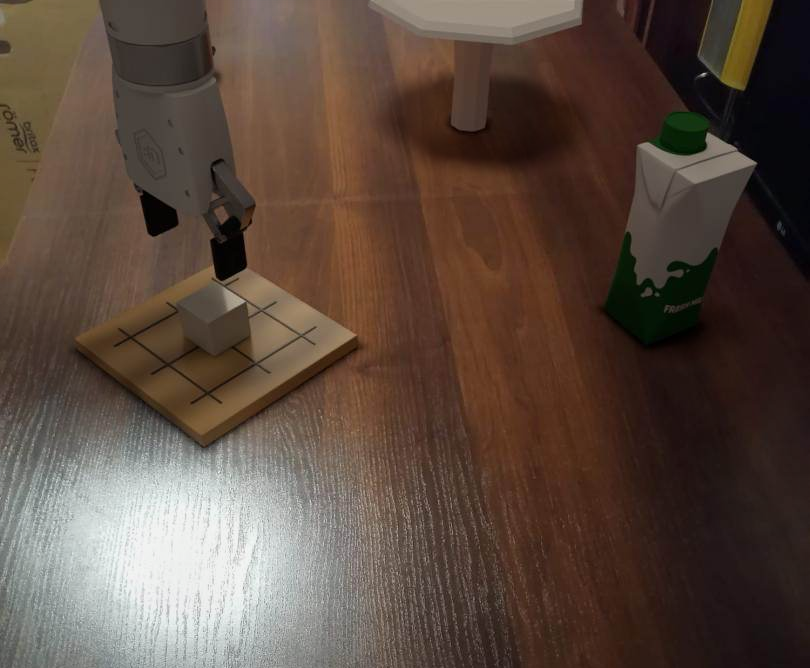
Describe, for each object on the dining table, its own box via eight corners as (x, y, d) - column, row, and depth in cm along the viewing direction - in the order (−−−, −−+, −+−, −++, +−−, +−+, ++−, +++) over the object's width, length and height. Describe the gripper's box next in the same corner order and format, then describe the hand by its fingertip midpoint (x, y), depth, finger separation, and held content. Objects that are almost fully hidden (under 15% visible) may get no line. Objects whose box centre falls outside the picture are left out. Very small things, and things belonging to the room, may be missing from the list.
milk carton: (652, 284, 96) (705, 99, 80) (709, 328, 91) (777, 141, 75) (590, 307, 93) (632, 120, 77) (646, 354, 88) (702, 165, 72)
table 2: (512, 197, 107) (530, 53, 94) (326, 136, 115) (319, -3, 102) (602, 110, 122) (629, -24, 109) (432, 61, 131) (437, -68, 118)
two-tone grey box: (183, 335, 86) (175, 302, 83) (220, 314, 88) (214, 280, 85) (214, 357, 84) (207, 323, 81) (251, 334, 86) (246, 301, 83)
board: (77, 350, 87) (72, 337, 86) (230, 267, 96) (228, 254, 95) (204, 447, 78) (201, 434, 77) (358, 346, 88) (357, 333, 87)
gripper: (54, 31, 67) (106, 230, 80) (195, 106, 60) (226, 310, 73) (133, 6, 71) (171, 200, 84) (275, 73, 64) (291, 274, 77)
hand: (197, 251), depth 79 cm, fingers open, 9 cm apart
